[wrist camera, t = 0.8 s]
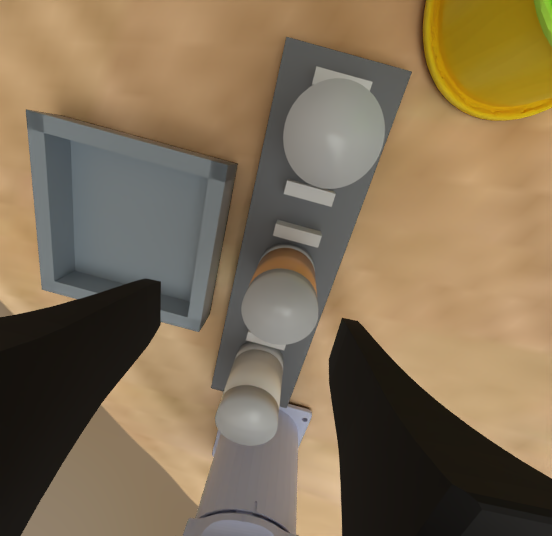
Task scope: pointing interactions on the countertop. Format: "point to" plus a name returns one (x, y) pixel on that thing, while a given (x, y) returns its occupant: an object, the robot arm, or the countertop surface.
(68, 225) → the tray
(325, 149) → the ball
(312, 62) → the board
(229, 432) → the cylinder
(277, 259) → the marked fuse
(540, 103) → the stacking cups
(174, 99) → the countertop surface
